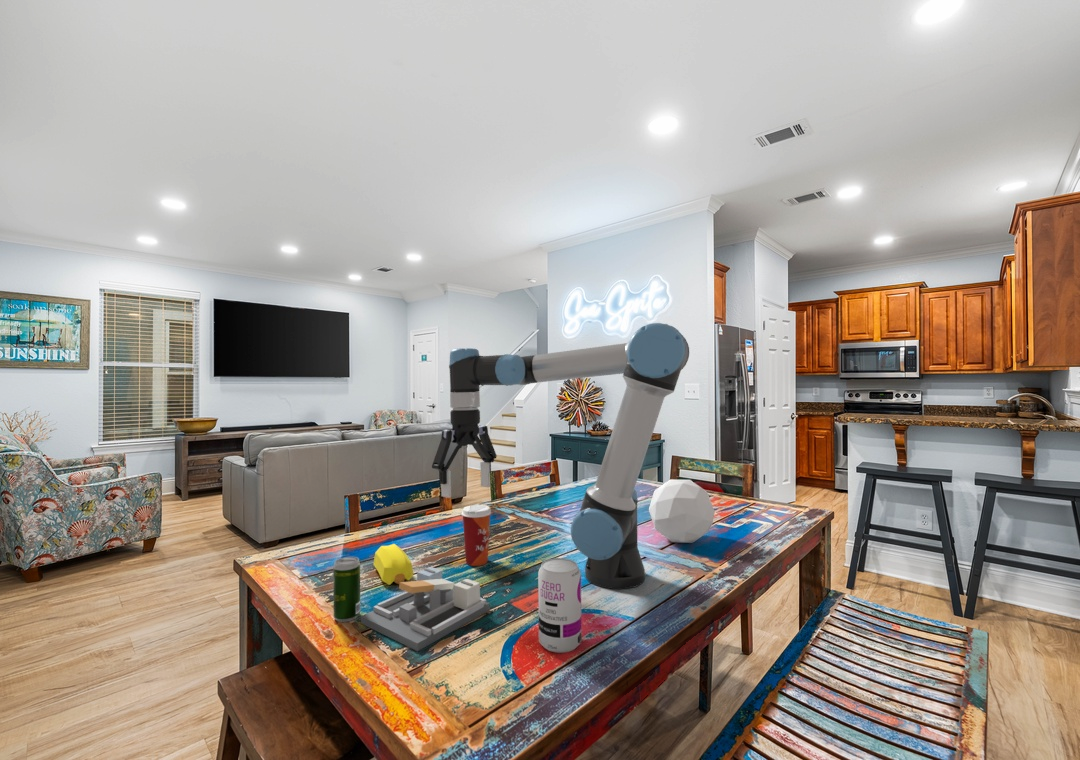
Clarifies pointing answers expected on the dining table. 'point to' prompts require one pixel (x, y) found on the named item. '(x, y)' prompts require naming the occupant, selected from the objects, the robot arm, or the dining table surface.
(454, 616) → the grey slider track base
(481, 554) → the coffee cup
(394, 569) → the yellow faceted dome
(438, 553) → the dining table surface
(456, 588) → the slider
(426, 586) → the rocker
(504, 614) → the dining table surface
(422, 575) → the slider
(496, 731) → the dining table surface
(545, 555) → the dining table surface
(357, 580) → the beer can
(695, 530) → the geometric orb
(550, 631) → the supplement can
